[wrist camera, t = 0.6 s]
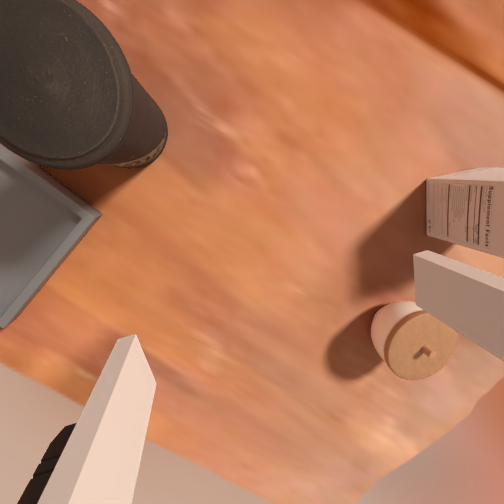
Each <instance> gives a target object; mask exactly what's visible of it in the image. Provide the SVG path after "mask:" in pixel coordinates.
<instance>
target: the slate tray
mask: <svg viewBox="0 0 504 504" xmlns="http://www.w3.org/2000/svg"><path fill="white" fill-rule="evenodd" d="M101 215H102V214H101V213H100V212H99V211H97V210H96V209H95V208H93V207H92V206H91V205H89V204H88V203H87V202H85V201H84V200H83V199H81V198H80V197H78V196H77V195H76V194H74V193H73V192H72V191H70V190H69V189H68V188H66V187H65V186H64V185H62V184H61V183H60V182H58V181H57V180H56V179H54V178H53V177H52V176H50V175H49V174H48V173H46V172H45V171H44V170H42V169H41V168H40V167H38V166H37V165H36V164H34V163H32V162H30V161H28V160H26V159H24V158H22V157H20V156H18V155H16V154H14V153H13V152H11V151H10V150H8V149H7V148H6V147H4V146H3V145H2V144H0V327H2V328H5V327H6V326H8V325H9V324H10V323H11V322H13V321H14V320H15V319H16V318H17V317H18V316H19V315H20V314H21V312H22V311H23V310H24V309H25V308H26V306H27V305H28V304H29V303H30V301H31V300H32V299H33V298H34V297H35V295H36V294H37V293H38V292H39V291H40V289H41V288H42V287H43V286H44V284H45V283H46V282H47V281H48V280H49V278H50V277H51V276H52V275H53V274H54V272H55V271H56V270H57V269H58V268H59V266H60V265H61V264H62V263H63V261H64V260H65V259H66V258H67V257H68V255H69V254H70V253H71V252H72V251H73V249H74V248H75V247H76V246H77V245H78V243H79V242H80V241H81V240H82V238H83V237H84V236H85V235H86V234H87V232H88V231H89V230H90V229H91V228H92V226H93V225H94V224H95V223H96V222H97V220H98V219H99V218H100V217H101Z"/></svg>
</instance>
